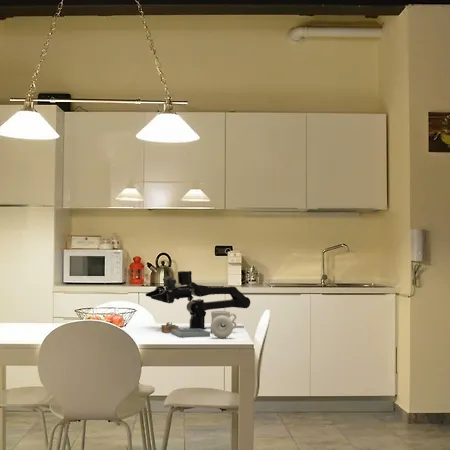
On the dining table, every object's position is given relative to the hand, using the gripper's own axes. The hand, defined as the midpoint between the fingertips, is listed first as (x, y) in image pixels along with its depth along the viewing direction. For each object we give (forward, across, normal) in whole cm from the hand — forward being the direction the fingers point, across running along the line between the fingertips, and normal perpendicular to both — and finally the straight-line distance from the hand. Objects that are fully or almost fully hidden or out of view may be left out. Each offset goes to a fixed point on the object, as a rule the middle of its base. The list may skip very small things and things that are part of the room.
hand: (148, 296), depth 319 cm
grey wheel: (-21, +38, +16) cm, 47 cm away
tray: (-12, +24, +16) cm, 31 cm away
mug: (-30, +20, +18) cm, 40 cm away
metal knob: (-6, +11, +16) cm, 20 cm away
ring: (-6, +11, +16) cm, 20 cm away
